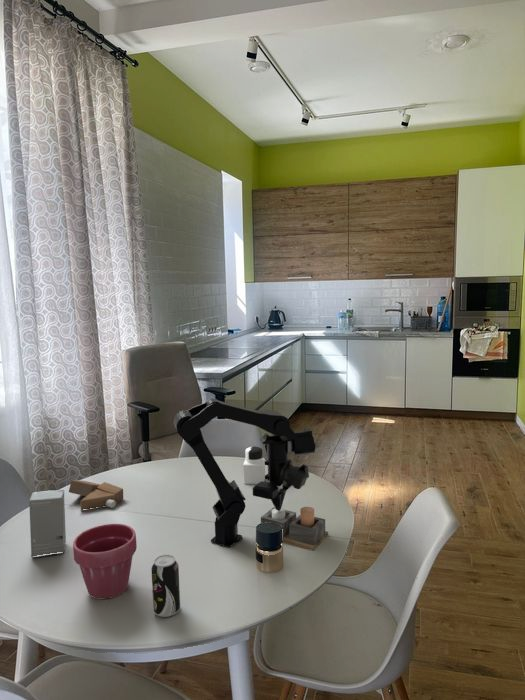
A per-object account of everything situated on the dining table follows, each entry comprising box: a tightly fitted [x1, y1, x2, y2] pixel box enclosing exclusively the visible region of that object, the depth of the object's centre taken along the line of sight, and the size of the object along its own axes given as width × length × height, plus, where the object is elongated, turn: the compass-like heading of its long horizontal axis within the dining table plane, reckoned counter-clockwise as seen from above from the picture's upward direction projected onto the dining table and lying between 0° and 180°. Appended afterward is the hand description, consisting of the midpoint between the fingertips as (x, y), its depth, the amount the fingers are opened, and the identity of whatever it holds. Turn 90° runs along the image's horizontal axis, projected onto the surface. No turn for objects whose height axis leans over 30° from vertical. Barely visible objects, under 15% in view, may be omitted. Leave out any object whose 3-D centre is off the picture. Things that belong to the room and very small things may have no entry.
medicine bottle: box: [242, 446, 266, 485], centre depth 185 cm, size 7×7×12 cm
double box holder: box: [260, 506, 329, 552], centre depth 146 cm, size 10×17×5 cm, turn 60°
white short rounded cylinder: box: [272, 507, 286, 520], centre depth 148 cm, size 4×4×5 cm
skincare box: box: [28, 489, 67, 557], centre depth 139 cm, size 8×7×16 cm
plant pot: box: [72, 523, 137, 600], centre depth 122 cm, size 14×14×13 cm
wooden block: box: [68, 479, 124, 511], centre depth 170 cm, size 8×13×18 cm
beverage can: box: [150, 554, 181, 618], centre depth 113 cm, size 6×6×12 cm
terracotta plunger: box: [299, 506, 315, 528], centre depth 143 cm, size 4×4×5 cm
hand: (278, 509), depth 147 cm, fingers closed
